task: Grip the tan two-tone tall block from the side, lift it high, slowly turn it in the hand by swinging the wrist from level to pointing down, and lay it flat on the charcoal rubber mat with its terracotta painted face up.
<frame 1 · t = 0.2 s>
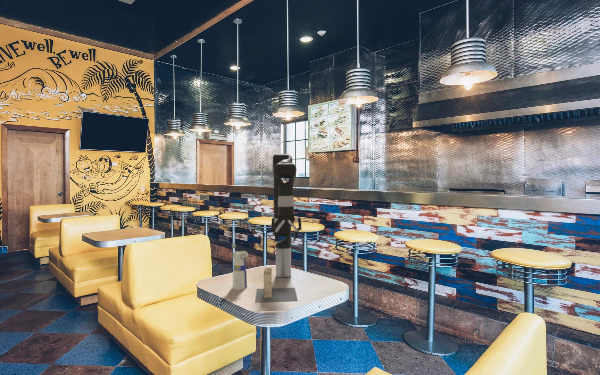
hand: (286, 239, 157), 29 cm above the table, fingers open, 8 cm apart
tan two-tone tall block: (268, 295, 163), point 1 cm above the table, touching rubber mat
rubber mat: (276, 295, 165), on the table
water bottle: (240, 288, 177), on the table
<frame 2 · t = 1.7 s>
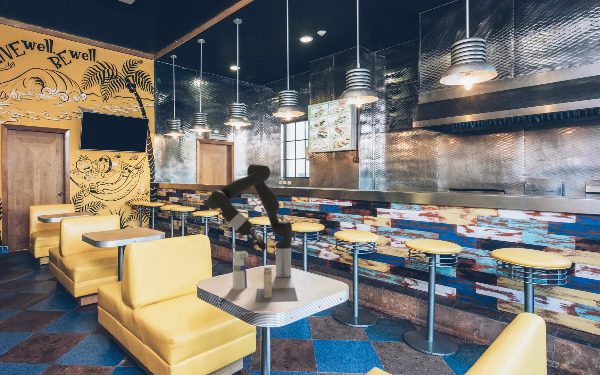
hand: (265, 247, 159), 25 cm above the table, fingers open, 8 cm apart
nothing on the table moved.
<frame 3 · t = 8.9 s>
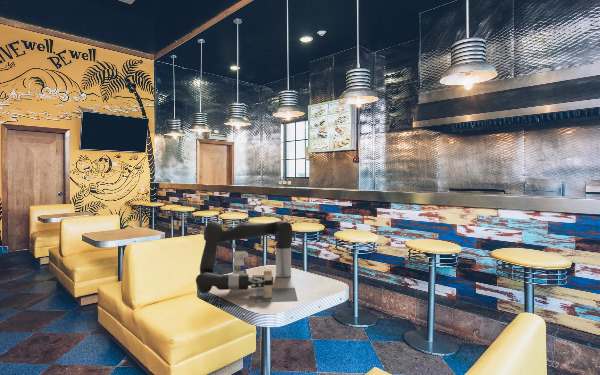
hand: (272, 280, 164), 8 cm above the table, fingers closed on tan two-tone tall block, 6 cm apart
tan two-tone tall block: (268, 295, 163), point 1 cm above the table, touching gripper, rubber mat
everything else where it was.
when the fingers open (2 cm above the table, at t = 23.0 s): tan two-tone tall block drops 2 cm, resting on rubber mat.
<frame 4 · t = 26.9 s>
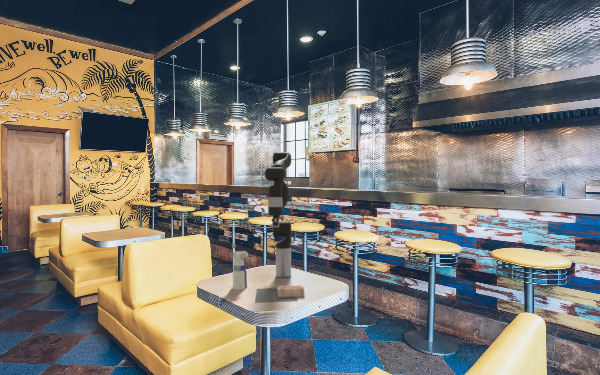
hand: (275, 237, 172), 28 cm above the table, fingers open, 8 cm apart
tan two-tone tall block: (277, 291, 164), point 2 cm above the table, tilted 90°, touching rubber mat
everything else where it was.
at the end: tan two-tone tall block tilted 90°; tan two-tone tall block inside the target area on the rubber mat (1.8 cm from its centre), point 2.4 cm above the rubber mat's base; the gripper is holding nothing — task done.
